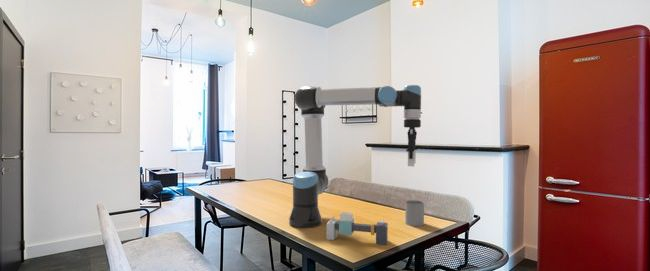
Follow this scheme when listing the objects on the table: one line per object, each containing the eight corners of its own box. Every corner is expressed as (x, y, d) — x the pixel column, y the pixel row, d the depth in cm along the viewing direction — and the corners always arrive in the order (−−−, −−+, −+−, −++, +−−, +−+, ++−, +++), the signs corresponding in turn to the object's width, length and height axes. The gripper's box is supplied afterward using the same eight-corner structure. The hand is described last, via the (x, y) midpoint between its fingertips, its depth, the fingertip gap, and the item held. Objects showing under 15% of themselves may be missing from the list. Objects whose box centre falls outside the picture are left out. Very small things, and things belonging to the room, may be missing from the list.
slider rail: (326, 239, 127) (326, 219, 127) (330, 234, 133) (330, 215, 133) (386, 245, 121) (386, 224, 121) (387, 240, 127) (387, 220, 127)
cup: (424, 226, 144) (424, 204, 144) (405, 225, 146) (405, 203, 146) (422, 221, 153) (422, 200, 152) (405, 220, 154) (405, 200, 154)
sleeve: (339, 234, 126) (339, 214, 126) (341, 230, 131) (341, 211, 131) (351, 235, 125) (351, 215, 125) (353, 231, 130) (353, 212, 130)
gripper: (419, 118, 135) (419, 168, 135) (421, 119, 159) (420, 162, 159) (401, 118, 137) (401, 167, 138) (405, 119, 161) (405, 161, 162)
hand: (411, 164), depth 149 cm, fingers open, 13 cm apart
